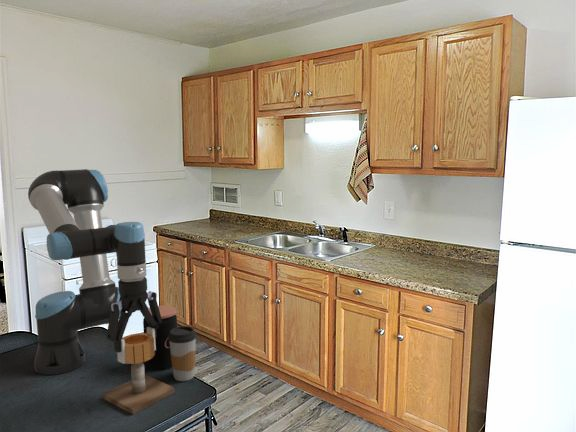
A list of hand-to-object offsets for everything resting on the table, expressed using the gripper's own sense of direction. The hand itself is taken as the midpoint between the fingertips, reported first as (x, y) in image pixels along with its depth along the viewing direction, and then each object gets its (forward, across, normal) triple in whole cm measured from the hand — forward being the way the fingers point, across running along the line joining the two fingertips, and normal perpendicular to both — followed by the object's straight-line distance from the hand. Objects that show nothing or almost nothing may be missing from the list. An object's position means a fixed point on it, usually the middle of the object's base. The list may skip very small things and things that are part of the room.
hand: (137, 355), depth 130 cm
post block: (+12, 0, 0) cm, 12 cm away
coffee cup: (+12, +15, -2) cm, 20 cm away
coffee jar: (+12, +17, +11) cm, 24 cm away
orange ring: (0, 0, 0) cm, 0 cm away
